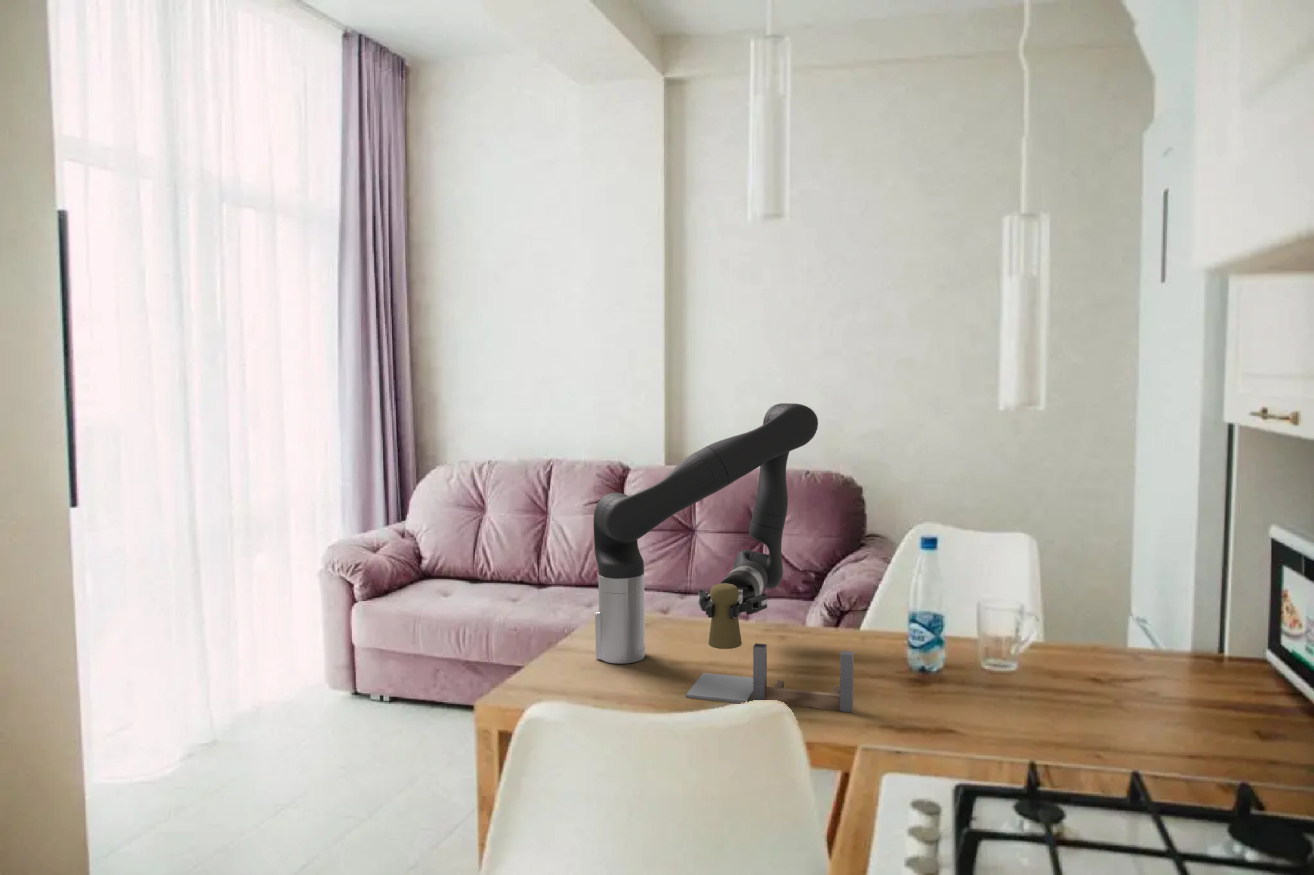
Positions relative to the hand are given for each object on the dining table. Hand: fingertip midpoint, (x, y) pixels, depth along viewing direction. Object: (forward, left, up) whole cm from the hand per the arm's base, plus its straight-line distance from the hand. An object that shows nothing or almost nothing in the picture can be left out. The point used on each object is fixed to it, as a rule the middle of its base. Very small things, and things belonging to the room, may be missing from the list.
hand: (720, 612), depth 166 cm
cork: (0, +3, -7) cm, 7 cm away
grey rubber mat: (0, +3, -15) cm, 15 cm away
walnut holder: (+15, +2, -15) cm, 21 cm away
